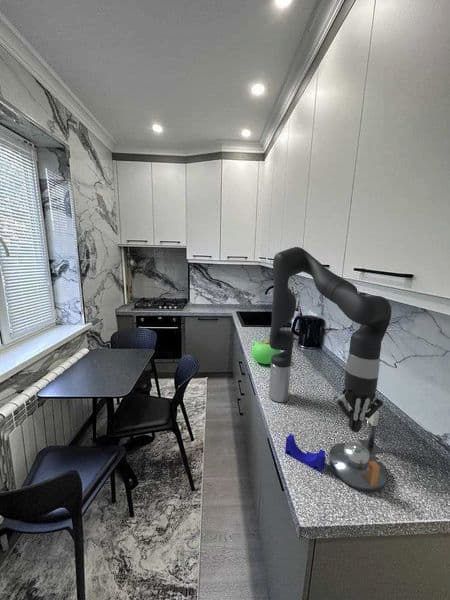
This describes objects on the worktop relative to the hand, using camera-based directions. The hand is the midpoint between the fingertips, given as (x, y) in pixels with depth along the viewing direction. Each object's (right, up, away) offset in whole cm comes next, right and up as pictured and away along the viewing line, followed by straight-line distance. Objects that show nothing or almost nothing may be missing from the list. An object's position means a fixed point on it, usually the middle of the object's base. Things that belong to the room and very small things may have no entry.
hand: (354, 430), depth 68 cm
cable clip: (-9, -18, +15) cm, 25 cm away
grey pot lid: (+6, -17, +10) cm, 21 cm away
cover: (+6, -15, +11) cm, 19 cm away
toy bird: (-10, -4, +89) cm, 90 cm away
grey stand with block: (+16, -17, +20) cm, 31 cm away
